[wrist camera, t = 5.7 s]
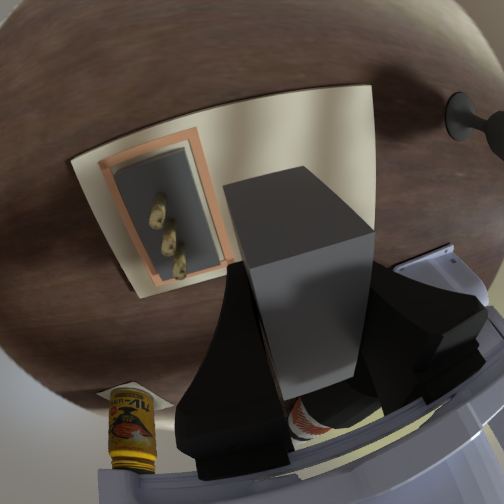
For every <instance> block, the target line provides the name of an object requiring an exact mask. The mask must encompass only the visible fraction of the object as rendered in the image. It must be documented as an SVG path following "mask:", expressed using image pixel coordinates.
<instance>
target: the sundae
mask: <svg viewBox="0 0 504 504" xmlns="http://www.w3.org/2000/svg"><path fill="white" fill-rule="evenodd" d="M446 124H447V128H448V131H449V133H450V135H451V136H452V138H454V139H455V140H457V141H462V140H465V139H467V138H468V137H469V136H470V134H471V133H472V130H473V128H475V129H478V130H480V131H482V132H484V133H485V135H486V138H487V142H488V144H489V146H490V149H491V150H492V152H494V153H495V154H496V155H497V156H498V157H499V158H501V159H502V160H503V161H504V111H498V112H496V113H494V114H493V115H491V116H490V117H489V119H488V120H484V119H482V118H479V117H477V116H476V115H475V108H474V105H473V102H472V100H471V99H470V97H469V96H468V95H467V94H465V93H463V92H459V93H456V94H455V95H453V97H452V98H451V99H450V101H449V103H448V106H447V110H446Z"/></svg>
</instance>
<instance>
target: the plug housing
mask: <svg viewBox="0 0 504 504" xmlns="http://www.w3.org/2000/svg"><path fill="white" fill-rule="evenodd" d="M222 187H223V191H224V195H225V198H226V202H227V206H228V210H229V213H230V217H231V221H232V225H233V228H234V232H235V236H236V240H237V243H238V247H239V251H240V254H241V258H242V260H243V263H244V266H245V269H246V272H247V276H248V279H249V283H250V287H251V290H252V294H253V298H254V302H255V305H256V309H257V313H258V316H259V321H260V326H261V330H262V333H263V336H264V339H265V342H266V346H267V349H268V352H269V355H270V358H271V362H272V365H273V368H274V371H275V374H276V378H277V381H278V384H279V387H280V390H281V393H282V396H283V400H284V401H285V400H288V399H291V398H294V397H297V396H301V395H304V394H307V393H310V392H313V391H315V390H318V389H321V388H324V387H327V386H329V385H332V384H335V383H337V382H340V381H343V380H345V379H348V378H350V377H353V375H354V371H355V366H356V362H357V357H358V353H359V348H360V343H361V338H362V332H363V327H364V321H365V315H366V309H367V303H368V296H369V289H370V281H371V273H372V264H373V255H374V244H375V231H374V230H373V229H372V228H371V227H370V226H369V225H368V224H367V223H366V222H365V221H364V220H363V219H362V218H361V217H360V216H359V215H358V214H357V213H356V212H355V211H354V210H353V209H352V208H351V207H349V206H348V205H347V204H346V203H345V202H344V201H343V200H342V199H341V198H340V197H339V196H338V195H337V194H335V193H334V192H333V191H332V190H331V189H330V188H329V187H328V186H327V185H325V184H324V183H323V182H322V181H321V180H320V179H319V178H317V177H316V176H315V175H314V174H313V173H312V172H311V171H309V170H308V169H307V168H306V167H305V166H299V167H295V168H290V169H286V170H282V171H278V172H273V173H269V174H265V175H261V176H257V177H253V178H249V179H245V180H241V181H238V182H234V183H230V184H227V185H223V186H222Z"/></svg>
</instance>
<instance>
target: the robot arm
mask: <svg viewBox="0 0 504 504" xmlns="http://www.w3.org/2000/svg"><path fill="white" fill-rule="evenodd" d="M453 249H454V245H452V244H449V245H447V246H444V247H442V248H440V249H437V250H435V251H432V252H430V253H427V254H425V255H423V256H420V257H418V258H415V259H412V260H410V261H407V262H405V263H402V264H400V265H397V266H395V267H394V269H393V271H392V270H390V269H388V268H386V267H384V266H382V265H380V264H378V263H376V262H375V261H373V264H372V273H371V281H370V289H369V296H368V303H367V309H366V315H365V321H364V327H363V332H362V338H361V343H360V351H361V353H362V355H363V357H364V360H365V362H366V365H367V367H368V370H369V372H370V375H371V377H372V380H373V383H374V386H375V388H376V391H377V394H378V397H379V400H380V403H381V407H382V410H383V413H384V417H382V418H380V419H378V420H376V421H374V422H372V423H369V424H367V425H365V426H363V427H360V428H358V429H356V430H353V431H351V432H348V433H346V434H343V435H341V436H338V437H336V438H333V439H330V440H328V441H325V442H322V443H319V444H316V445H313V446H310V447H306V448H304V449H300V450H297V451H295V449H294V446H293V443H292V439H291V436H290V433H289V430H288V426H287V423H286V420H285V417H284V413H283V410H282V407H281V404H280V400H279V397H278V394H277V391H276V388H275V384H274V381H273V378H272V375H271V371H270V368H269V365H268V361H267V356H266V351H265V346H264V341H263V336H262V331H261V326H260V321H259V316H258V313H257V309H256V305H255V302H254V298H253V294H252V290H251V287H250V283H249V279H248V276H247V272H246V269H245V266H244V263H243V260H242V261H239V262H235V263H232V264H228V266H227V267H226V268H227V278H226V288H225V294H224V299H223V304H222V308H221V312H220V316H219V320H218V324H217V327H216V330H215V333H214V336H213V339H212V341H211V344H210V346H209V349H208V351H207V353H206V356H205V358H204V360H203V362H202V364H201V366H200V368H199V370H198V372H197V374H196V376H195V377H194V379H193V381H192V383H191V385H190V386H189V388H188V389H187V391H186V392H185V394H184V395H183V397H182V399H181V400H180V402H179V403H178V405H177V406H176V413H175V437H176V445H177V448H178V449H179V450H180V451H181V452H183V453H184V454H186V455H188V456H190V457H192V458H194V459H195V461H196V468H197V471H193V472H182V473H171V474H144V475H138V474H137V473H135V472H132V471H128V470H115V469H99V470H98V491H99V504H504V474H503V471H502V469H501V467H500V464H499V462H498V460H497V458H496V456H495V454H494V451H493V449H492V447H491V445H490V443H489V442H488V439H487V437H486V435H485V433H484V431H483V426H484V425H485V424H486V423H488V425H489V426H490V428H491V429H492V431H493V433H494V435H495V436H496V438H497V440H498V442H499V443H500V445H501V447H502V449H503V451H504V319H503V317H502V316H501V315H500V314H499V313H498V311H497V310H496V309H495V308H494V307H493V306H488V301H489V300H488V293H487V290H486V288H485V286H484V284H483V282H482V281H481V280H480V278H479V277H478V276H477V275H476V274H475V273H474V272H473V271H472V270H471V269H470V268H469V267H468V266H467V265H466V264H465V263H464V262H463V261H462V260H461V259H460V258H459V257H458V256H457V255H456V254H455V253H453ZM441 405H443V406H441ZM439 406H441V407H440V408H439V409H437V410H436V411H435V412H434V414H433V415H432V416H431V417H430V418H429V419H428V420H427V421H426V422H424V423H423V424H422V425H421V426H420V427H419V428H418V429H417V430H415V431H413V432H411V433H409V434H407V435H406V436H404V437H402V438H400V439H398V440H396V441H394V442H392V443H390V444H389V445H386V446H384V447H382V448H380V449H378V450H376V451H374V452H372V453H370V454H368V455H366V456H363V457H361V458H359V459H357V460H355V461H352V462H350V463H348V464H345V465H343V466H340V467H338V468H335V469H333V470H331V471H328V472H325V473H323V474H320V475H317V476H314V477H311V478H308V479H305V480H301V479H300V478H298V475H297V474H291V475H285V476H280V477H275V476H279V475H283V474H287V473H290V472H294V471H298V470H301V469H304V468H308V467H311V466H314V465H317V464H320V463H323V462H326V461H328V460H331V459H334V458H337V457H340V456H342V455H345V454H347V453H350V452H352V451H355V450H357V449H359V448H362V447H364V446H366V445H369V444H371V443H373V442H375V441H377V440H380V439H382V438H384V437H386V436H388V435H390V434H392V433H394V432H396V431H398V430H400V429H402V428H403V427H405V426H407V425H409V424H411V423H413V422H414V421H416V420H418V419H420V418H421V417H423V416H425V415H426V414H428V413H430V412H431V411H433V410H435V409H436V408H438V407H439ZM271 477H274V478H271ZM267 478H268V479H267ZM262 479H263V480H262Z"/></svg>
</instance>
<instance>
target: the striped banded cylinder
mask: <svg viewBox="0 0 504 504" xmlns="http://www.w3.org/2000/svg"><path fill="white" fill-rule="evenodd" d="M379 408H381V403H380V400H379V397H378V394H377V391H376V388H375V386H374V383H373V380H372V377H371V375H370V372H369V370H368V367H367V365H366V362H365V360H364V357H363V355H362V353H361V351H360V348H359V353H358V357H357V362H356V366H355V371H354V375H353V377H350V378H348V379H345V380H343V381H340V382H337V383H335V384H332V385H329V386H327V387H324V388H321V389H318V390H315V391H313V392H310V393H307V394H304V395H301V396H300V397H299V399H298V400H297V401H296V403H295V405H294V407H293V409H292V411H291V412H290V414H289V415H288V416H287V418H286V419H285V420H286V423H287V426H288V430H289V433H290V436H291V439H292V443H293V444H294V445H298V444H299V445H300V444H303V443H305V442H307V441H308V440H310V439H313V438H314V437H317V436H318V435H320V434H324V433H326V432H327V431H329V430H330V429H332V428H334V429H340V428H349V427H351V426H353V425H355V424H357V423H358V422H360V421H362V420H363V419H365V418H366V417H368V416H369V415H371V414H372V413H374V412H375V411H376V410H378V409H379Z"/></svg>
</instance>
